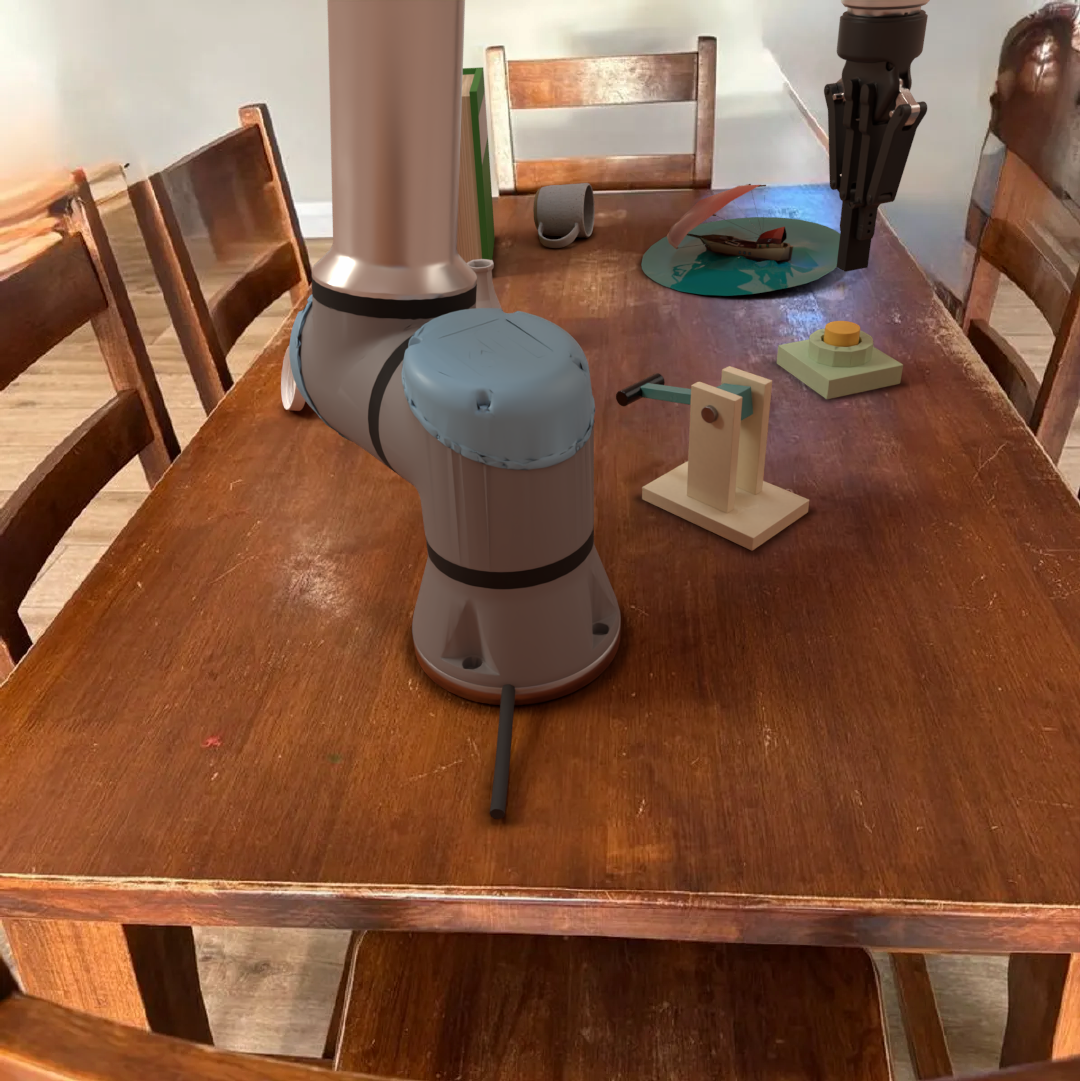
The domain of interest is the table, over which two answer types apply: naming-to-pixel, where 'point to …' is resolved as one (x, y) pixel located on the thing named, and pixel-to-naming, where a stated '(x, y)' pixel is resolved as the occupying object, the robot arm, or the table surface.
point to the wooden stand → (728, 467)
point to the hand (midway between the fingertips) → (851, 267)
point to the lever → (677, 393)
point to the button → (842, 334)
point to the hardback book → (474, 173)
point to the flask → (484, 284)
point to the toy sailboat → (740, 251)
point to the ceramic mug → (564, 213)
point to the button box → (839, 365)
